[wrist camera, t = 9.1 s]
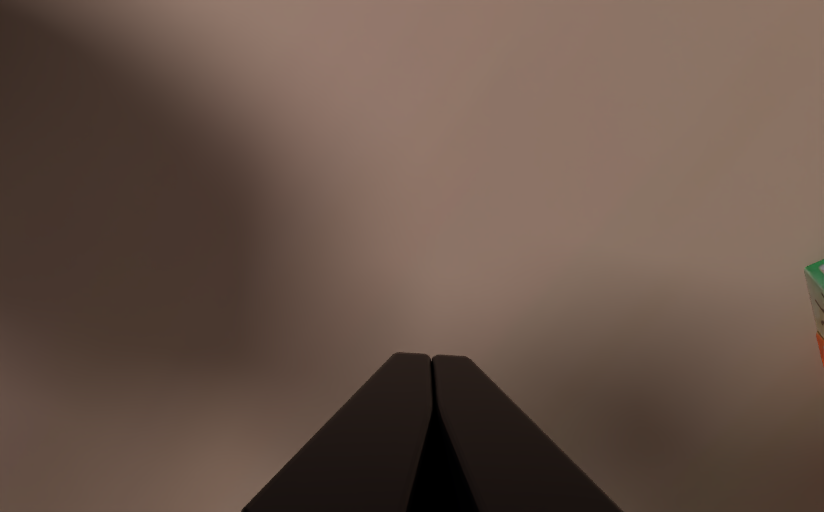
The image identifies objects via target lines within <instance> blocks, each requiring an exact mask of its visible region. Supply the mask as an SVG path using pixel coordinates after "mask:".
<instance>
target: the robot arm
mask: <svg viewBox="0 0 824 512" xmlns="http://www.w3.org/2000/svg"><path fill="white" fill-rule="evenodd" d="M241 512H623V511H622V510H621V509H620V508H619V507H618V506H617V505H616V504H615V503H614V502H613V501H612V500H611V499H610V498H609V497H608V496H607V495H606V494H605V493H604V492H603V491H602V490H601V489H600V488H599V487H598V486H597V485H596V484H595V483H594V482H593V481H592V480H591V479H590V478H589V477H588V476H587V475H586V474H585V473H584V472H583V471H582V470H581V469H580V468H579V467H578V466H577V465H576V464H575V463H574V462H573V461H572V460H571V459H570V458H569V457H568V456H567V455H566V454H565V453H564V452H563V451H562V450H561V449H560V448H559V447H558V446H557V445H556V444H555V443H554V442H553V441H552V440H551V439H550V438H549V437H548V436H547V435H546V434H545V433H544V432H543V431H542V430H541V429H540V428H539V427H538V426H537V425H536V424H535V423H534V422H533V421H532V420H531V419H530V418H529V417H528V416H527V415H526V414H525V413H524V412H523V411H522V410H521V409H520V408H519V407H518V406H517V405H516V404H515V403H514V402H513V401H512V400H511V399H510V398H509V397H508V396H507V395H506V394H505V393H504V392H503V391H502V390H501V389H500V388H499V387H498V386H497V385H496V384H495V383H494V382H493V381H492V380H491V379H490V378H489V377H488V376H487V375H486V374H485V373H484V372H483V371H482V370H481V369H480V368H479V367H478V366H477V365H476V364H475V363H474V362H473V361H472V360H471V359H469V358H468V357H466V356H453V355H436V356H434V357H433V358H432V361H431V358H430V357H429V356H428V355H427V354H420V353H403V352H397V353H395V354H393V355H392V356H391V357H390V358H389V359H388V360H387V361H386V362H385V363H384V364H383V365H382V366H381V367H380V368H379V369H378V370H377V371H376V372H375V373H374V374H373V375H372V377H371V378H370V379H369V380H368V381H367V382H366V383H365V384H364V385H363V386H362V387H361V388H360V389H359V390H358V391H357V392H356V393H355V394H354V395H353V396H352V397H351V398H350V399H349V400H348V401H347V402H346V403H345V404H344V405H343V406H342V407H341V408H340V409H339V410H338V411H337V412H336V413H335V415H334V416H333V417H332V418H331V419H330V420H329V421H328V422H327V423H326V424H325V425H324V426H323V427H322V428H321V429H320V430H319V431H318V432H317V433H316V434H315V435H314V436H313V437H312V438H311V439H310V440H309V441H308V442H307V443H306V444H305V445H304V446H303V447H302V448H301V449H300V450H299V451H298V453H297V454H296V455H295V456H294V457H293V458H292V459H291V460H290V461H289V462H288V463H287V464H286V465H285V466H284V467H283V468H282V469H281V470H280V471H279V472H278V473H277V474H276V475H275V476H274V477H273V478H272V479H271V480H270V481H269V482H268V483H267V484H266V485H265V486H264V487H263V488H262V490H261V491H260V492H259V493H258V494H257V495H256V496H255V497H254V498H253V499H252V500H251V501H250V502H249V503H248V504H247V505H246V506H245V507H244V508H243V509H242V511H241Z"/></svg>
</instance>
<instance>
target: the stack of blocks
mask: <svg viewBox="0 0 824 512" xmlns="http://www.w3.org/2000/svg"><path fill="white" fill-rule="evenodd" d="M804 273H805V277H806V282H807V286H808V290H809V295H810V299H811V304H812V308H813V312H814V317H815V321H816V326H817V330H818V331H817V334H816V337H817V341H818V345H819V349H820V354H821V358H822V362H823V366H824V259H823V260H821V261H819V262H816V263H814V264H812V265H809V266H807V267H806V268H805V269H804Z"/></svg>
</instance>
